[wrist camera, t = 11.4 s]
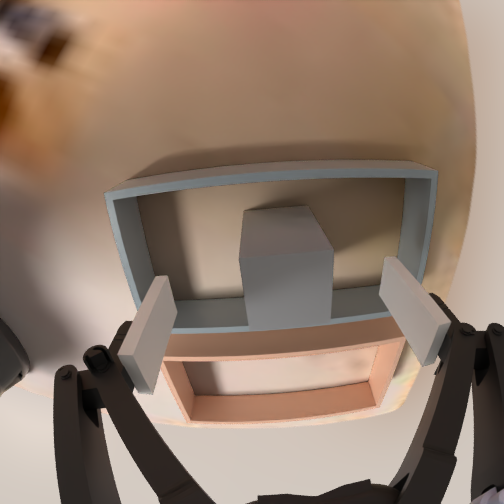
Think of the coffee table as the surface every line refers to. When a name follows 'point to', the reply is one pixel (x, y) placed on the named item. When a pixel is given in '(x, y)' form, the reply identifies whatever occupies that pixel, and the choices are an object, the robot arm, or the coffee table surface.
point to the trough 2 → (283, 346)
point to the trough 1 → (234, 309)
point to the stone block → (285, 268)
